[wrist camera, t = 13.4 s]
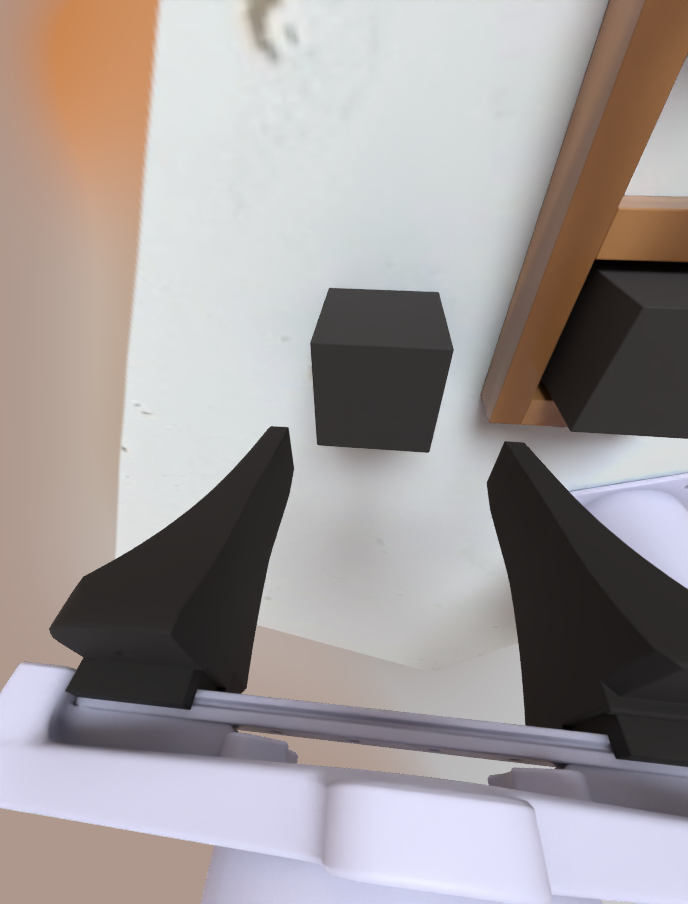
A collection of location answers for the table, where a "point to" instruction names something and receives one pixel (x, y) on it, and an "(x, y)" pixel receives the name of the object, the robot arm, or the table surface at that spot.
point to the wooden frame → (593, 201)
